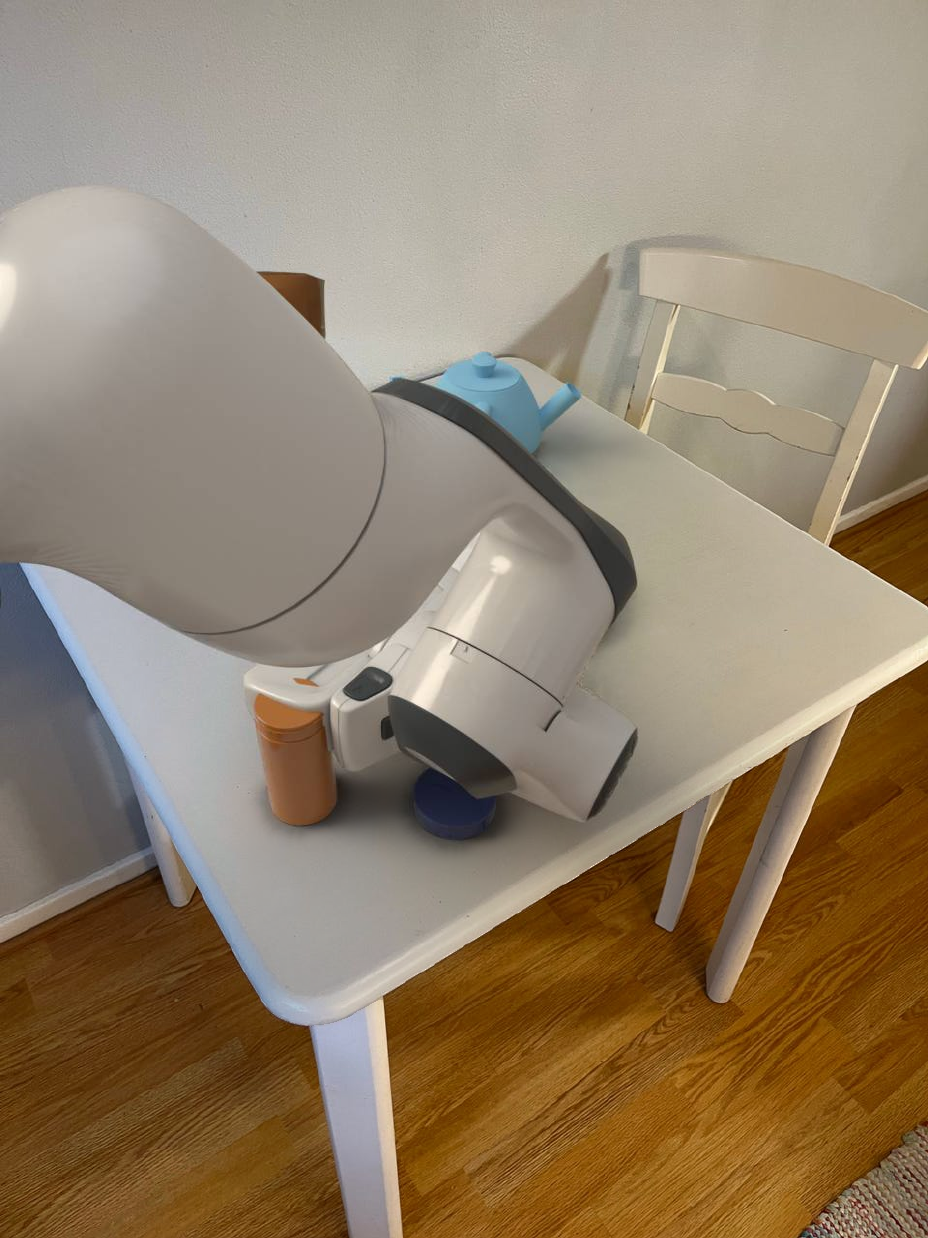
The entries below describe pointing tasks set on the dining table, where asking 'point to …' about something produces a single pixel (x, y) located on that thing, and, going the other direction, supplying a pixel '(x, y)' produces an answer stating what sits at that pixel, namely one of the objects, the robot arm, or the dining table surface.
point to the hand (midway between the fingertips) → (292, 600)
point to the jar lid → (450, 807)
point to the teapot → (505, 396)
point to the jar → (295, 761)
